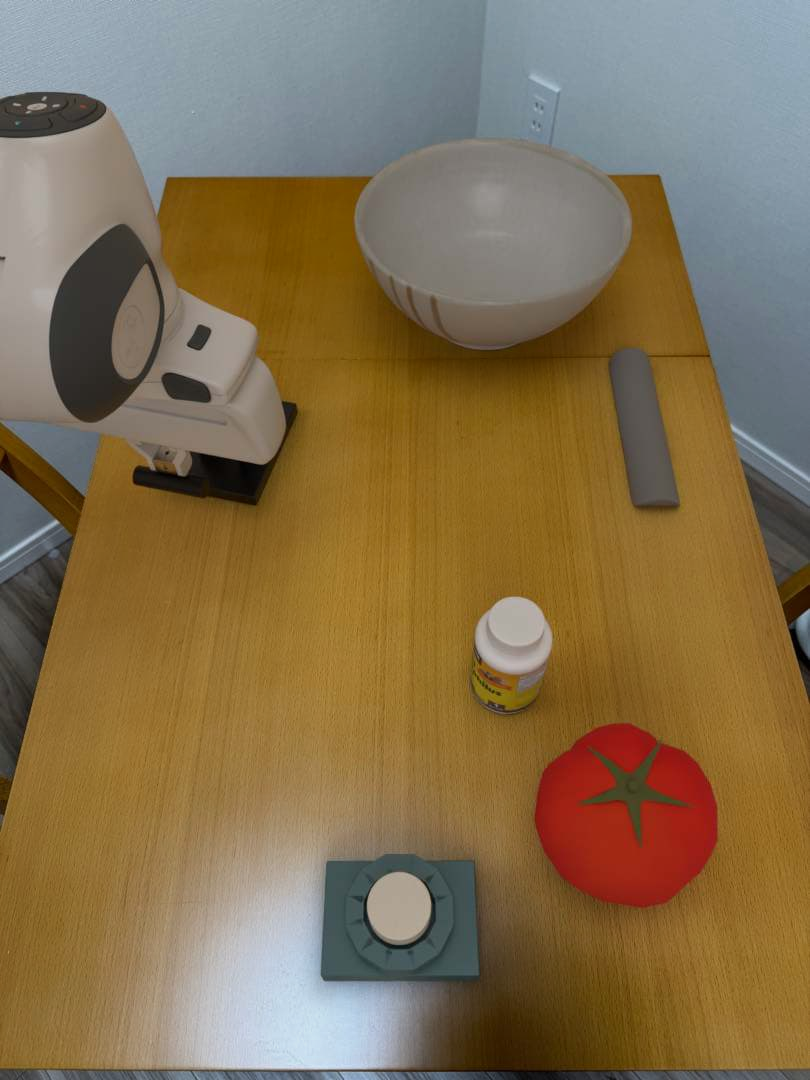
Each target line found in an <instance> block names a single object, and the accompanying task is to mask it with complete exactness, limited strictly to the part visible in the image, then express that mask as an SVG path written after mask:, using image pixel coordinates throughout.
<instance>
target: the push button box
mask: <svg viewBox="0 0 810 1080" xmlns="http://www.w3.org/2000/svg"><path fill="white" fill-rule="evenodd" d="M475 862H476V861H475V860H472V859H471V860H469V859H468V860H466V859H465V860H461V859H459V860H425V859H423V858H421V857H420V856H418V855H417V854H414V853H385V854H383V855H382V856H380V857H378V858H377V859H375V860H327V861H326V862H325V877H324V878H325V881H324V897H323V898H324V899H323V917H322V919H323V921H322V938H321V940H322V941H321V956H320V958H321V959H320V978H322V980H323V981H324V982H477V981H479V977H480V974H481V972H480V971H481V970H480V951H479V929H478V907H477V886H476V885H477V883H476V863H475ZM393 872H406V873H409V874H412V875H414V876H416V877H417V878H418V879H420V880H421V881H422V882H423V884H424V885H425V886H426V888H427V890H428V892H429V895H430V898H431V918H430V922H429V925H428V927H427V929H426V931H425V932H424V933H423V935H422V936H421V937H420V938H418V939H417V940H416V941H414V942H412V943H409V944H406V945H393V944H390V943H387V942H385V941H383V940H382V939H381V938H379V937H378V936H377V935H376V933H375V932H374V930H373V929H372V927H371V924H370V921H369V917H368V912H367V900H368V896H369V893H370V891H371V889H372V887H373V886H374V884H375V883H376V882H377V881H378V880H379V879H380V878H382V877H383V876H385V875H387V874H390V873H393Z"/></svg>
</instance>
